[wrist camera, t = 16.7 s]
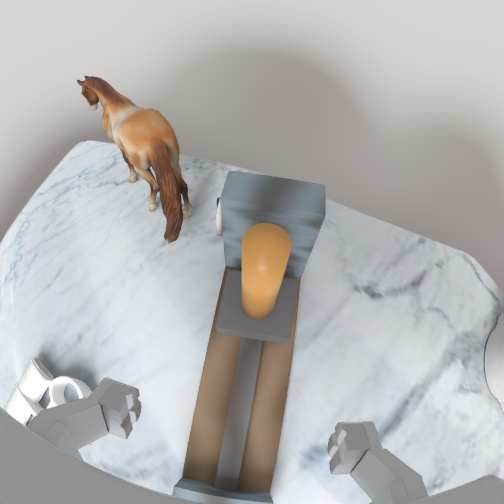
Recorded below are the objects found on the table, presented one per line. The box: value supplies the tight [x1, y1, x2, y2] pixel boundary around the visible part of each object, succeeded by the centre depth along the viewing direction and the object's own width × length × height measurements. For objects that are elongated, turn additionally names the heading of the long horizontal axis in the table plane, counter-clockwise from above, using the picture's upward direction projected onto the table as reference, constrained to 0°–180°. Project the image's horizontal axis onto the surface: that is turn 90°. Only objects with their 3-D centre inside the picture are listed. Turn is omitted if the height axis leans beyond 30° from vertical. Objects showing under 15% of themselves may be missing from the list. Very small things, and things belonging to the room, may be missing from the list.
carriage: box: [216, 223, 297, 344], centre depth 27 cm, size 8×7×14 cm
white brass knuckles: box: [4, 358, 92, 445], centre depth 24 cm, size 3×18×15 cm
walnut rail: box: [172, 171, 325, 504], centre depth 25 cm, size 11×36×15 cm, turn 171°
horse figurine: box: [77, 76, 192, 243], centre depth 38 cm, size 31×8×21 cm, turn 40°
